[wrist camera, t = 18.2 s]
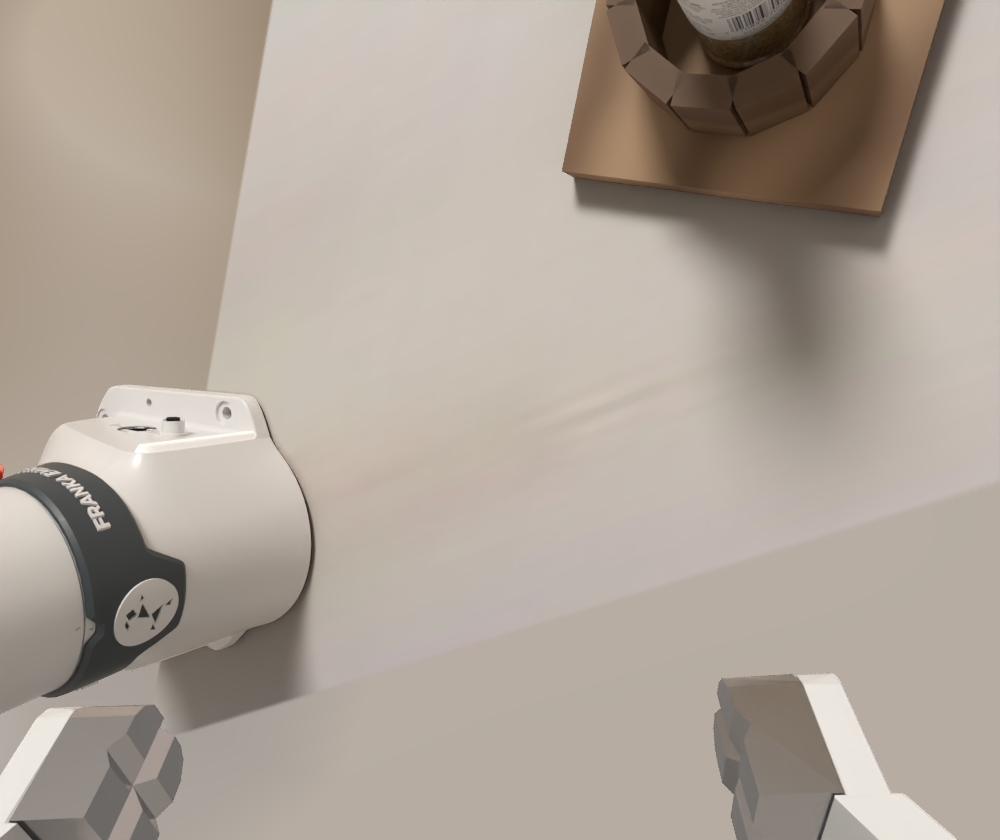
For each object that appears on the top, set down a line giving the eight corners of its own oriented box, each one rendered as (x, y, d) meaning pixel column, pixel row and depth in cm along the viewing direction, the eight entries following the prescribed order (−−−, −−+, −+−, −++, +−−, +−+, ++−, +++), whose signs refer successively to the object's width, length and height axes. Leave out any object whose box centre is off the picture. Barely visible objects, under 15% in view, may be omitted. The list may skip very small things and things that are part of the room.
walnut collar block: (573, 177, 35) (526, 151, 30) (638, -140, 32) (597, -224, 27) (880, 217, 29) (882, 193, 24) (995, -167, 26) (1024, -283, 21)
